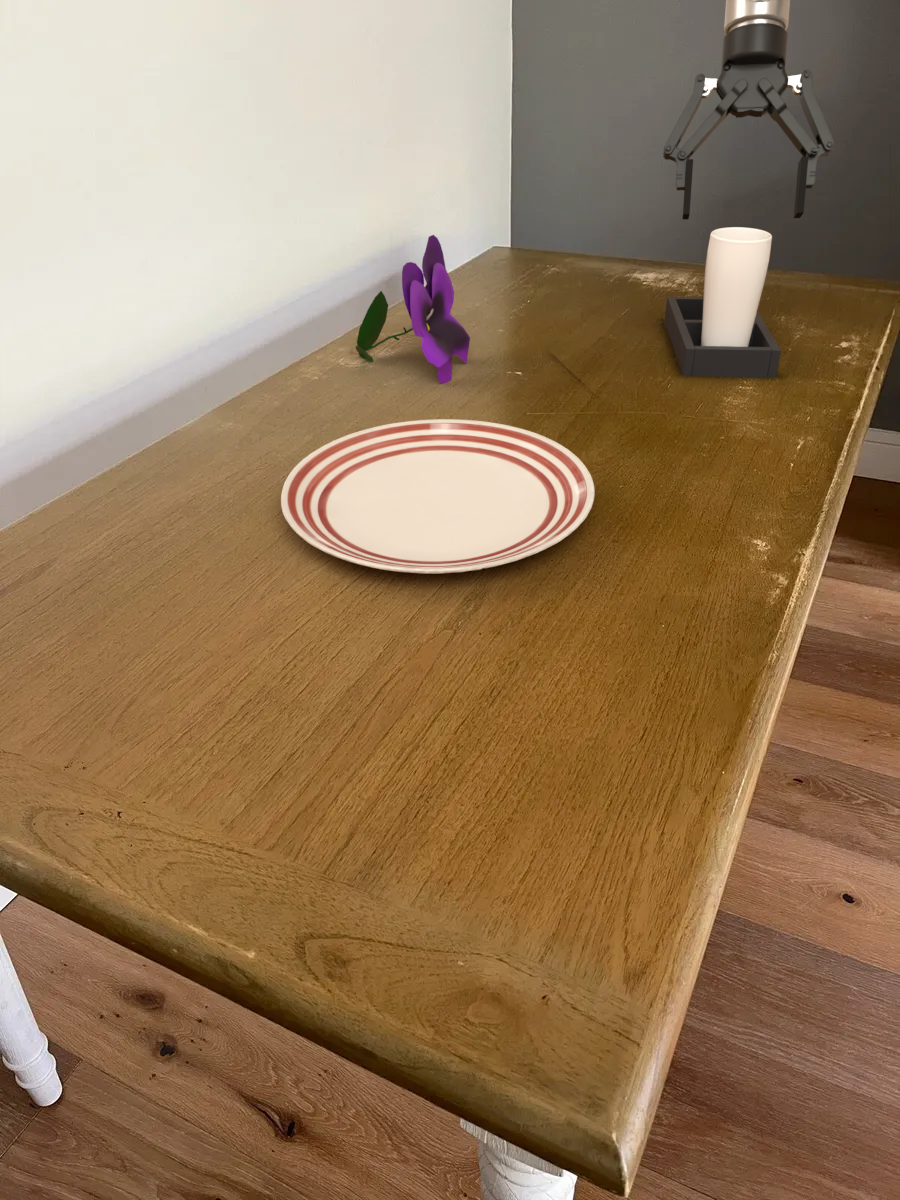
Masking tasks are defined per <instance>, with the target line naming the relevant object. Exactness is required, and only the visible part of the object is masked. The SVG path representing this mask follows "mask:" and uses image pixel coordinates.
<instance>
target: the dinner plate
mask: <svg viewBox="0 0 900 1200" xmlns="http://www.w3.org/2000/svg"><path fill="white" fill-rule="evenodd" d="M595 493H596V492H595V484H594V480H593V476H592V475H591V473H590V471H589V469H588V468H587V467H586V465H585V464H584V463H583V461H582V460H581V459H580V458H579V457H578V456H577V455H576V454H575V453H573V452H572V451H571V450H569V449H568V448H566V447H565V446H564V445H562V444H560V443H559V442H557V441H555V440H553V439H551V438H548V437H546V436H544V435H542V434H539V433H536V432H534V431H531V430H527V429H524V428H521V427H516V426H513V425H509V424H502V423H497V422H492V421H483V420H473V419H456V418H455V419H451V418H439V419H437V418H435V419H433V418H432V419H418V420H409V421H400V422H393V423H387V424H382V425H378V426H373V427H370V428H366V429H362V430H359V431H356V432H353V433H349V434H347V435H344V436H341V437H339V438H336V439H334V440H332V441H330V442H328V443H326V444H325V445H323V446H321V447H319V448H317V449H316V450H313V451H312V452H311V453H310V454H308V455H306V457H304V458H303V459H301V460H300V461H299V462H298V463H297V464H296V465H295V466H294V467H293V469H292V470H291V471H290V473H289V474H288V476H287V477H286V479H285V480H284V483H283V486H282V490H281V494H280V507H281V511H282V514H283V517H284V519H285V521H286V523H288V525H289V526H290V528H291V529H292V530H293V531H294V532H295V533H296V535H298V536H299V537H300V538H301V539H302V540H304V541H305V542H306V543H308V544H309V545H310V546H313V547H314V548H316V549H318V550H320V551H322V552H324V553H325V554H328V555H329V556H332V557H335V558H338V559H340V560H343V561H346V562H348V563H352V564H356V565H359V566H363V567H367V568H372V569H376V570H377V569H378V570H384V571H391V572H396V573H397V572H398V573H411V574H451V573H452V574H453V573H464V572H470V571H471V572H472V571H480V570H482V569H489V568H494V567H498V566H502V565H505V564H509V563H513V562H517V561H519V560H522V559H525V558H528V557H530V556H533V555H536V554H538V553H540V552H542V551H544V550H547V549H548V548H550V547H552V546H554V545H556V544H558V543H559V542H561V541H562V540H564V539H565V538H566V537H568V536H570V535H571V534H572V533H573V532H575V531H576V530H577V529H578V528H579V527H580V526H581V524H582V523H583V522H584V521H585V520H586V519H587V517H588V515H589V514H590V511H591V510H592V508H593V505H594V501H595Z"/></svg>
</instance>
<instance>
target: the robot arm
mask: <svg viewBox="0 0 900 1200" xmlns="http://www.w3.org/2000/svg"><path fill="white" fill-rule="evenodd" d="M790 8H791V0H725V9H724V10H725V11H724V24H723V32H724V35H725V36H724V37H723V39H722V54H721V56H722V57H721V66H720V67H721V68H720V74H719V76H718V78H713V77H706V75H705V74H703V73H699V74H697V75H696V76H695V79H694V85H693V91H692V94H691V96H690V97H689V99H688V101H687V103H686V105H685V107H684V109H683V110H682V113H681V114H680V116H679V118H678V120H677V122H676V123H675V125H674V128H673V129H672V131H671V133H670V134H669V137H668V139H667V140H666V142H665V144H664V146H663V149H662V150H663V151H662V157H663V159H664V160H666V161H668V160H670V161H673V162H674V163H675V164H676V170H675V171H676V172H675V189H676V191H683V193H684V194H683V205H682V218H681V219H682V220H689V218H690V214H691V213H690V212H691V200H692V199H691V198H692V197H691V196H692V185H693V184H692V183H693V170H694V158H691V157H692V156H694V154H695V153H696V152H697V150H698V149H700V147H701V146H702V145H703V144H704V142H705V141H706V140H707V139H708V138H709V137H710V136H711V135H712V133H713V132H714V131H715V130H716V129H717V128H718V126H720V124H721V123H722V122H723V121H724V120H725V119H726V118H727V117H728V116H729V115H732V116H734V117H735V118H736V119H737V118H739V119H741V118H744V117H753V118H762V116H765V115H766V114H768V115H769V117H770V118H771V119H772V120H773V121H774V122H775V123H777V125H778V126H779V128H780V129H781V130H782V132H783V133H784V134H785V135H786V137H787V138H788V139H789V141H791V143H792V145H793V146H794V148H796V150H797V151H798V152H799V153H800V155H801V158H800V160H799V161H798V163H797V175H796V187H795V201H794V208H793V209H794V211H793V219H801V217H802V216H803V215H804V213H805V204H806V203H805V201H806V190H807V189H812V188H813V186H814V185H815V183H816V180H817V179H816V178H817V167H818V159H820V158H822V157H828V156H829V155H830V154H831V153H832V151H833V150H834V148H835V146H836V143H835V140H834V138H833V136H832V135H833V134H832V133H831V130H830V128H829V125H828V123H827V121H826V118H825V116H824V114H823V111H822V109H821V107H820V104H819V102H818V99H817V97H816V94H815V92H814V89H813V72H812V71H811V70H810V69H805V70H803V71H802V73H800V74H793V75H788V74H787V71H786V62H787V61H786V60H787V48H788V38H789V37H788V32H787V30H788V27H789V20H790ZM787 88H789V89H790V90H792V93H793V95H795V96H798V99H799V103H800V106H801V109H802V111H803V113H804V116H805V119H806V121H807V124H808V126H809V128H810V130H811V133H812V135H813V138H814V140H815V141H813V139H812V138H811V137H810V135H809V134H808V133H807V132H806V130H805V128H803V126H802V124H801V123H800V122H799V121H798V120H797V118H796V117H795V116H794V115H793V113H792V111H790V109H789V108H788V106H787V103H786V102H785V100H784V99H783V97H781V96H782V95H783V94H784V92H785V91H786V90H787ZM712 91H715V92H716V94H717V95H718V97H719V98H720V100H721V101H720V102H719V103H718V104H717V106H716V107H715V109H714V110H713V111H712V112H711V113H710V114H709V116H708V117H707V118H706V119H705V120H704V121H703V123H702V124H701V125H700V126H699V127H698V128H697V129H696V130H695V132H694V133H693V134H692V135H691V136H690V138H689V139H688V140H687V141H686V142H685V143H684V145H683V146H682V147H681V148H679V145H680V143H681V141H682V139H683V137H684V135H685V134H686V132H687V130H688V128H689V127H690V124H691V122H692V121H693V120H694V117H695V115H696V114H697V112H698V110H699V108H700V105H701V103H702V100H703V99H707V98H708V97H710V94H711V93H712ZM815 142H816V143H815Z"/></svg>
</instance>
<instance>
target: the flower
mask: <svg viewBox="0 0 900 1200" xmlns="http://www.w3.org/2000/svg"><path fill="white" fill-rule="evenodd" d="M421 268H422V269H421ZM421 268H420V266H418V264H417V263H416V262H412V261H409V262H406V263H405V264H404V265H402V270H401V287H402V295H403V300H404V304H405V307H406V310H407V313H408V315H409V319H410V321H411V328H409V329H406V327H405V326H403V330H404V332H401V333H397V334H393V335H389V336H387V337H386V338H384V339H383V340H381V341H379V342H377V340H378V339H379V337H380V334H381V332H382V330H383V328H384V326H385V323H386V321H387V316H388V310H389V304H388V301H387V298H386V295H385V294H384V293H383V291H382V290H380V291H379V292H378V293H377V294H376V295H375V297H374V299H372V302H371V303H370V304H369V306H368V308H367V311H366V313H365V315H364V317H363V320H362V321H361V325H360V326H359V328H358V329H359V330H358V334H357V339H356V345H355V350H356V352H357V353H358V356H359V357H360V358H361V359H362V360H365V361H367V362H371V363H372V362H373V361H374V358H373V356H371V355H370V354H369V353H368V351H370V350H372V349H375V348H376V347H378V346H380V345H381V344H384V343H385V342H387V341H388V340H390V339H393V340H396V341H400V338H399V337H401V336H404V335H406V334H408V333H410V332H412V331H413V334H414V335H415V336H416V337H419V338H422V340H421V346H420V347H421V350H422V352H423V354H424V356H425V359H426V360H427V362H429V363H430V364H431V365H433V366H435V367H437V368H438V369H437V376H436V377H437V379H438V381H439V383H440V384H446V383H448V382H450V381H451V380H452V378H453V360H452V359H453V356H458V357H459V358H460V359H461V361H463V362H464V363H465V364H467V361H468V357H469V356H468V355H469V349H470V341H471V336H470V335H469V333H468V332H467V330H466V329H465V327H464V326H463V325H462V324H461V323H460V322H459V321H458V320H457V319H456V318H455V317H454V316H453V315H452V314H451V312H452V309H453V305H454V302H455V301H454V300H455V290H454V286H453V283H452V279H451V277H450V275H449V273H448V271H447V268H446V262H445V257H444V252H443V248H442V244H441V243H440V241H439V238H438V237H437V236H435V234H432V235H430V236H428V239H427V243H426V248H425V251H424V253H423V256H422V262H421ZM376 342H377V343H376Z"/></svg>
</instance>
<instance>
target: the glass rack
mask: <svg viewBox="0 0 900 1200" xmlns="http://www.w3.org/2000/svg"><path fill="white" fill-rule="evenodd" d="M703 299H704V296H667V297H666V305H665V312H664V321H663V329H666V330H667V333H668V336H669V339H670V343H671V345H672V348H673V352H674V354H675V357H676V361H677V363H678V366H679V369H680V372H681V375H682V376H683V377H726V378H727V377H732V378H733V377H734V378H777V375H778V370H779V363H780V359H781V353H782V349H781V348H780V346H779V344H778V342H777V341H776V339H775V337H774V336H773V335H772V332H771V331H770V330H769V328H768V326H767V324H766V323H765V321H764V320H763V318H762V317H761V315H760V312H759V311H758V310H757V313H756V317H755V321H754V325H753V329H752V333H751V337H750V341H749V345H748V347H733V346H701V337H702V319H703Z"/></svg>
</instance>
